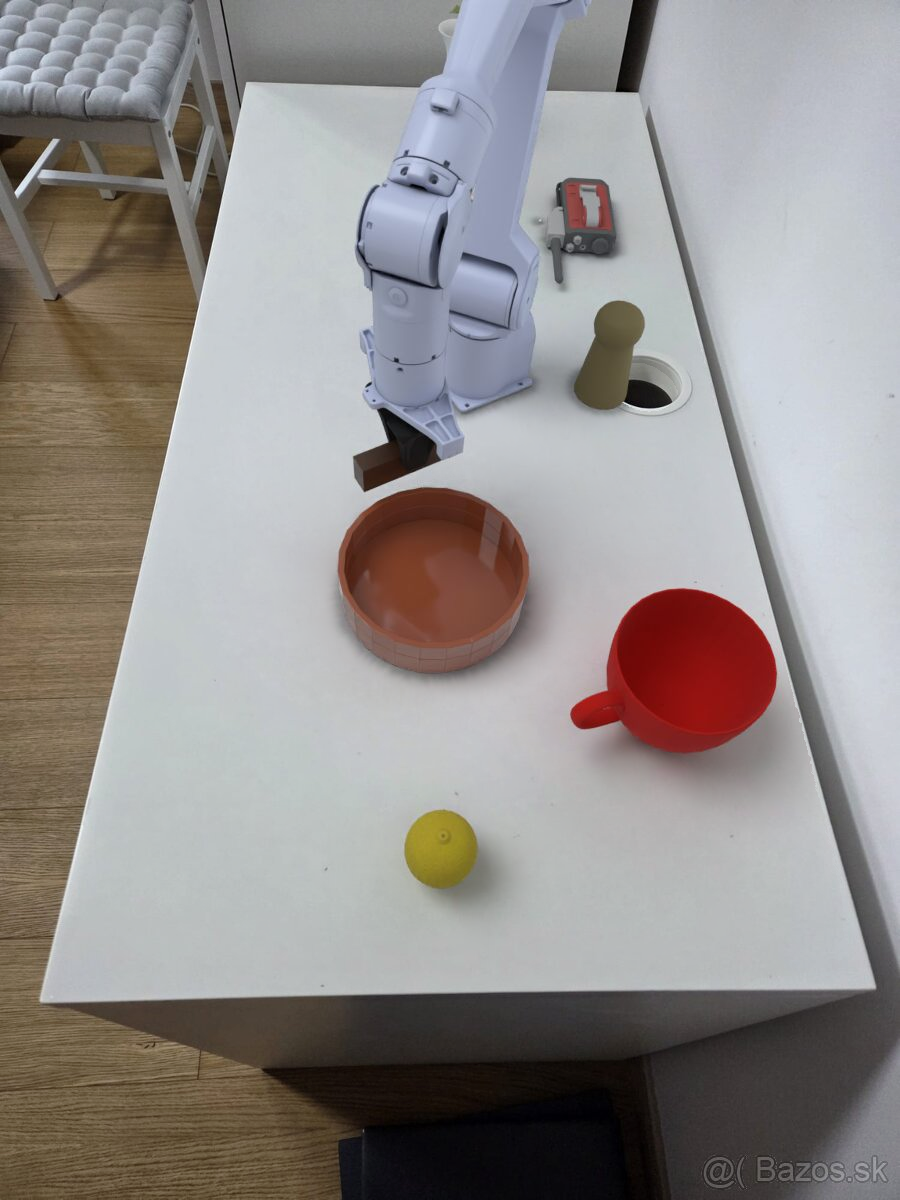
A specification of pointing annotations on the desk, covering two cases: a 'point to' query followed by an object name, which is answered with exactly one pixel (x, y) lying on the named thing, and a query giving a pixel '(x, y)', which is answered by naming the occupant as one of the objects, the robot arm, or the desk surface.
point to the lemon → (441, 849)
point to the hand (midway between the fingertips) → (408, 455)
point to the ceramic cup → (684, 673)
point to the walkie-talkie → (580, 220)
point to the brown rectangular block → (384, 465)
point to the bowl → (432, 579)
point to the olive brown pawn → (610, 356)
